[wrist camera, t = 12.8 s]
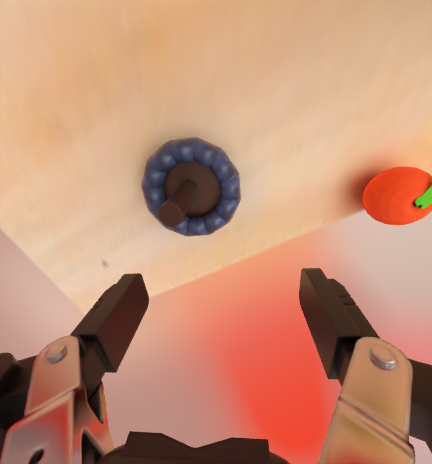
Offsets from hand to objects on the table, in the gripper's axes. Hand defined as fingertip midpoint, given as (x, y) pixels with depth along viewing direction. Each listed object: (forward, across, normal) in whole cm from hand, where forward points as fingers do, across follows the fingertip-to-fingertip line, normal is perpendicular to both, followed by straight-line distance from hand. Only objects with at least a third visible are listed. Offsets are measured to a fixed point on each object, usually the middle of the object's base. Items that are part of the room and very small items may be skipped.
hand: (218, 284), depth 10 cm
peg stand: (+21, +5, 0) cm, 22 cm away
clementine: (+22, -21, +2) cm, 30 cm away
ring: (+18, +5, 0) cm, 19 cm away
